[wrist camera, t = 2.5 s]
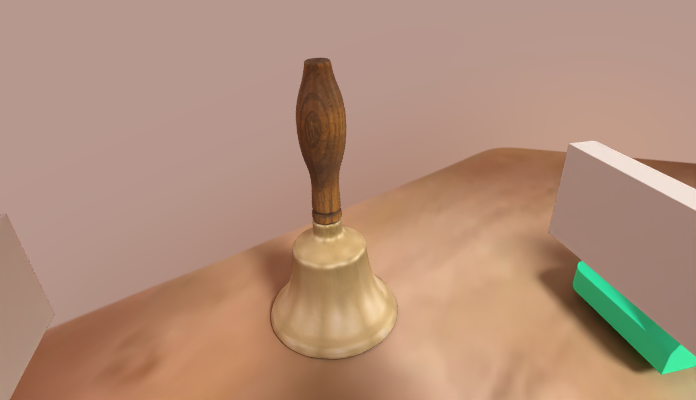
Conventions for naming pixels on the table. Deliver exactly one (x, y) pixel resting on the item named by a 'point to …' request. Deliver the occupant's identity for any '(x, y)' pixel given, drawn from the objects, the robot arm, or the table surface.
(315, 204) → the hand bell
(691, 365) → the camera mount
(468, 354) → the table surface
